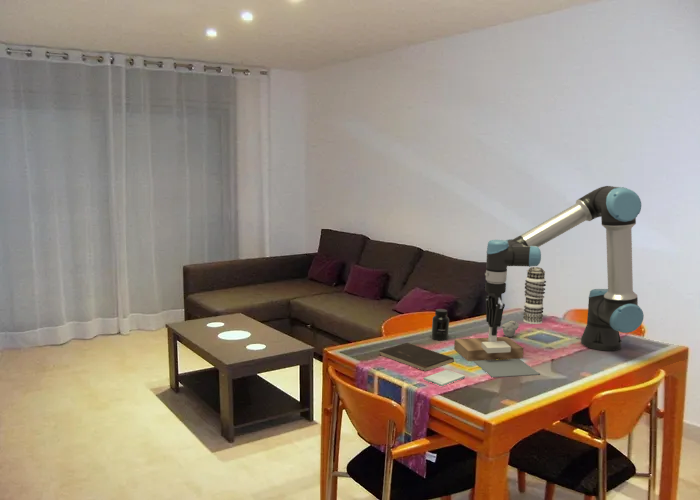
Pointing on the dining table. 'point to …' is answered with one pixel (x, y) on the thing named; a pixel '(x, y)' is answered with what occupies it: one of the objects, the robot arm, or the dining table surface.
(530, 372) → the mat
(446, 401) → the dining table surface
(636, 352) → the dining table surface
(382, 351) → the hardcover book
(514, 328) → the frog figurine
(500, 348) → the cream rectangular block
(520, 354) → the brown wooden block
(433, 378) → the hard drive
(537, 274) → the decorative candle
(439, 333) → the supplement bottle
